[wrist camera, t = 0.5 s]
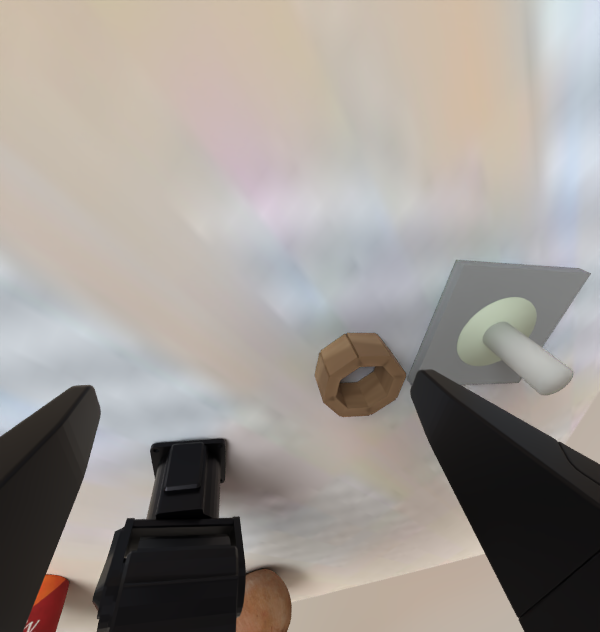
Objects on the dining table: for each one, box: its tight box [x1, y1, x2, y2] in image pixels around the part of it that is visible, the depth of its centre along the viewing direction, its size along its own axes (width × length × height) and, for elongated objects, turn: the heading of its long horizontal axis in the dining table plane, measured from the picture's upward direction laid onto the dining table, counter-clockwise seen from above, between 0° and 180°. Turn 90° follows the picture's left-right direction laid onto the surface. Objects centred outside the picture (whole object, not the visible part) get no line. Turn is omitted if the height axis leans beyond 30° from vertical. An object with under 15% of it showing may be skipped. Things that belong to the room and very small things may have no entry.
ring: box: [315, 333, 406, 417], centre depth 26 cm, size 6×6×3 cm
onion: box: [236, 569, 291, 632], centre depth 43 cm, size 10×9×10 cm
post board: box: [407, 260, 591, 395], centre depth 25 cm, size 12×12×7 cm
